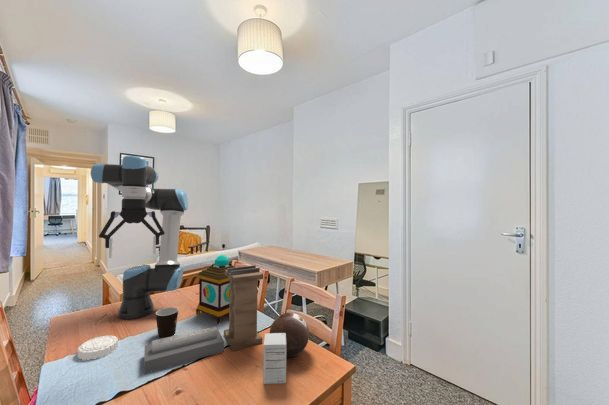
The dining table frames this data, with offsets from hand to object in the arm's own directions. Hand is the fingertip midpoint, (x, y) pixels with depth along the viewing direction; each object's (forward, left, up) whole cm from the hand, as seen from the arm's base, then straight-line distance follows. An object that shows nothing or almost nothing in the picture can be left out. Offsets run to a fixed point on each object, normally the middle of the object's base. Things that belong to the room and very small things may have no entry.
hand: (133, 255), depth 97 cm
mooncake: (-8, -11, -37) cm, 40 cm away
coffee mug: (-10, +13, -37) cm, 40 cm away
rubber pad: (+10, +17, -37) cm, 42 cm away
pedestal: (+10, +39, -37) cm, 54 cm away
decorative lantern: (-19, +37, -37) cm, 56 cm away
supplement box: (+38, +41, -37) cm, 67 cm away
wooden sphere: (+29, +51, -37) cm, 69 cm away
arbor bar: (+10, +17, -33) cm, 38 cm away
